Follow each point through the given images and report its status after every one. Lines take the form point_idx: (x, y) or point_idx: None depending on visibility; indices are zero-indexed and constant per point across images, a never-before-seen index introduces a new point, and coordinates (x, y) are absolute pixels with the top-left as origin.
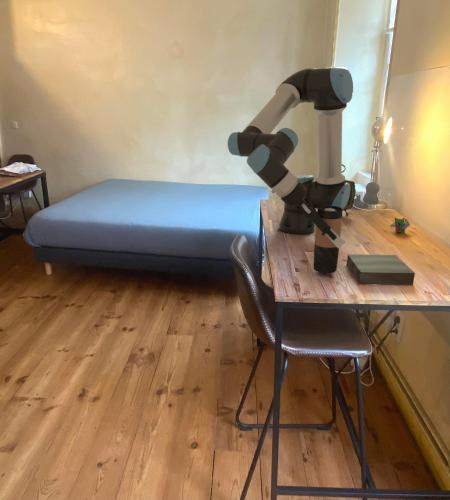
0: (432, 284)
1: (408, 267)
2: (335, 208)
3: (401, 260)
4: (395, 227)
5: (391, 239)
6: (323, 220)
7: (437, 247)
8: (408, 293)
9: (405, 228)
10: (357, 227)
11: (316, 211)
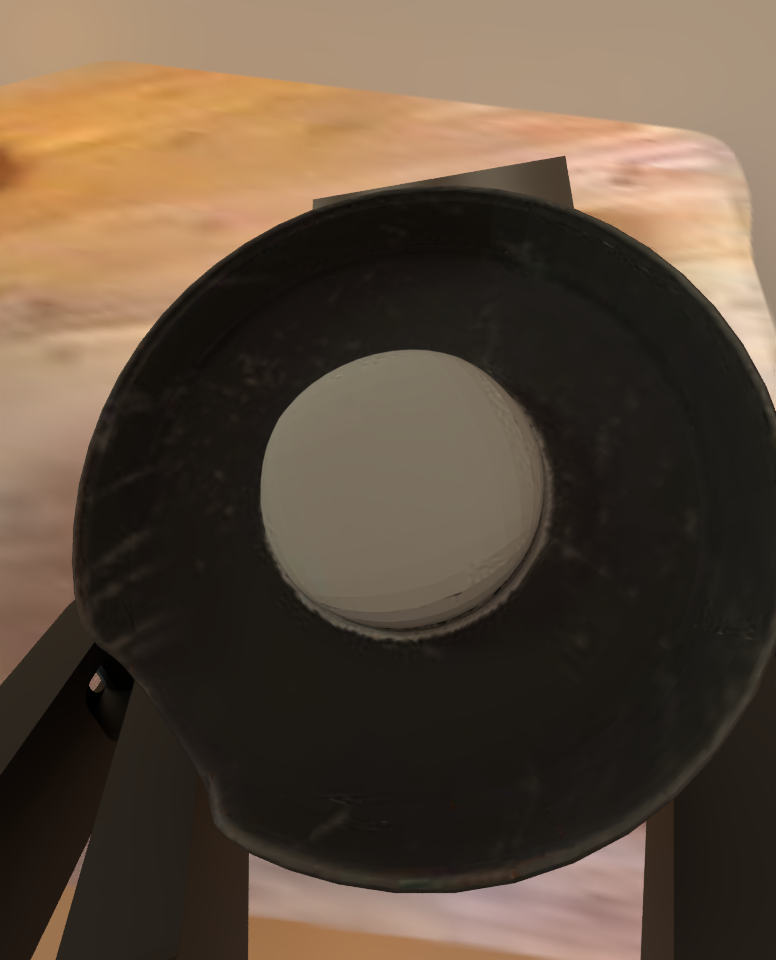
0: (530, 148)
1: (490, 171)
2: (214, 336)
3: (391, 186)
4: None
5: (20, 212)
6: (770, 705)
7: (135, 84)
8: (656, 241)
9: None
10: None
11: (118, 739)
